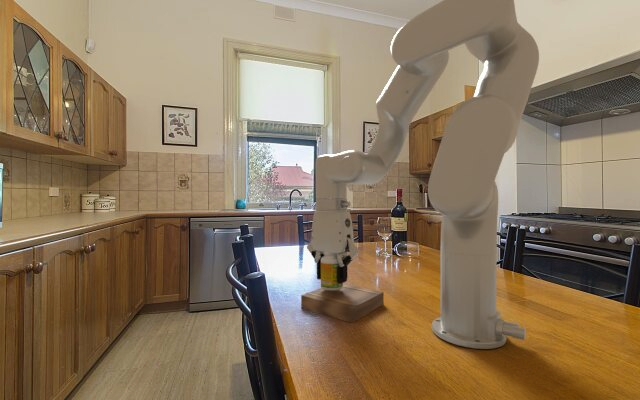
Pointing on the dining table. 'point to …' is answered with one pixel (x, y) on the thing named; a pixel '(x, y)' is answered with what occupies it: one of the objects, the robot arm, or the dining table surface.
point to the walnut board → (343, 302)
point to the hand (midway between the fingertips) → (331, 279)
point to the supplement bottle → (329, 272)
